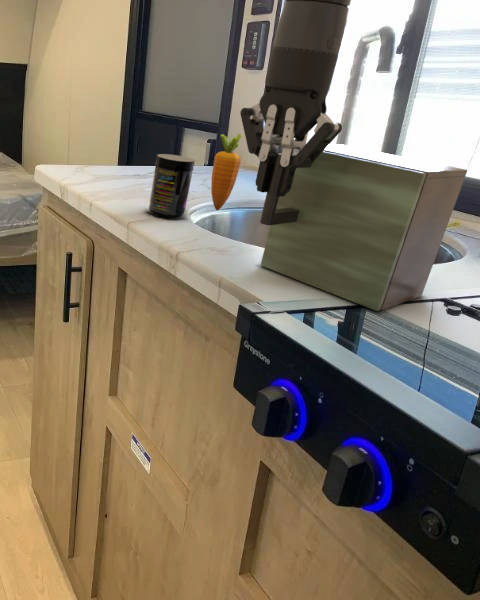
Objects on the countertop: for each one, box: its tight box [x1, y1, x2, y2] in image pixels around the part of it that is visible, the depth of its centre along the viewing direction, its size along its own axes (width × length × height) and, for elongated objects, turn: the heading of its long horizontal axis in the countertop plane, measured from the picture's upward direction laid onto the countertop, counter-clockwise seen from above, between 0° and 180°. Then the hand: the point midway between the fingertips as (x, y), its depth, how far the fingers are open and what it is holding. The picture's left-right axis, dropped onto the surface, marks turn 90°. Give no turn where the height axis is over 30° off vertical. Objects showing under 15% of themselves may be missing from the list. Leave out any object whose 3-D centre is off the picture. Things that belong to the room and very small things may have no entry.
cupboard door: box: [259, 151, 427, 312], centre depth 76 cm, size 8×18×17 cm, turn 39°
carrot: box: [210, 133, 243, 211], centre depth 116 cm, size 5×5×15 cm
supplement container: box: [148, 153, 196, 220], centre depth 108 cm, size 7×7×10 cm
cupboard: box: [324, 143, 468, 311], centre depth 82 cm, size 12×18×18 cm
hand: (270, 193), depth 77 cm, fingers closed on cupboard door
